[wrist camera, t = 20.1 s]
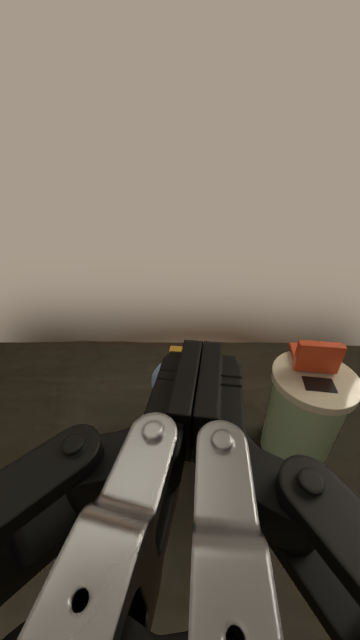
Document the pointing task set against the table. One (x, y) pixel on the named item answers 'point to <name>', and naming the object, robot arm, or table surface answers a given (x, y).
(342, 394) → the sage cup
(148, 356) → the table surface
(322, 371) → the block
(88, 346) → the table surface
